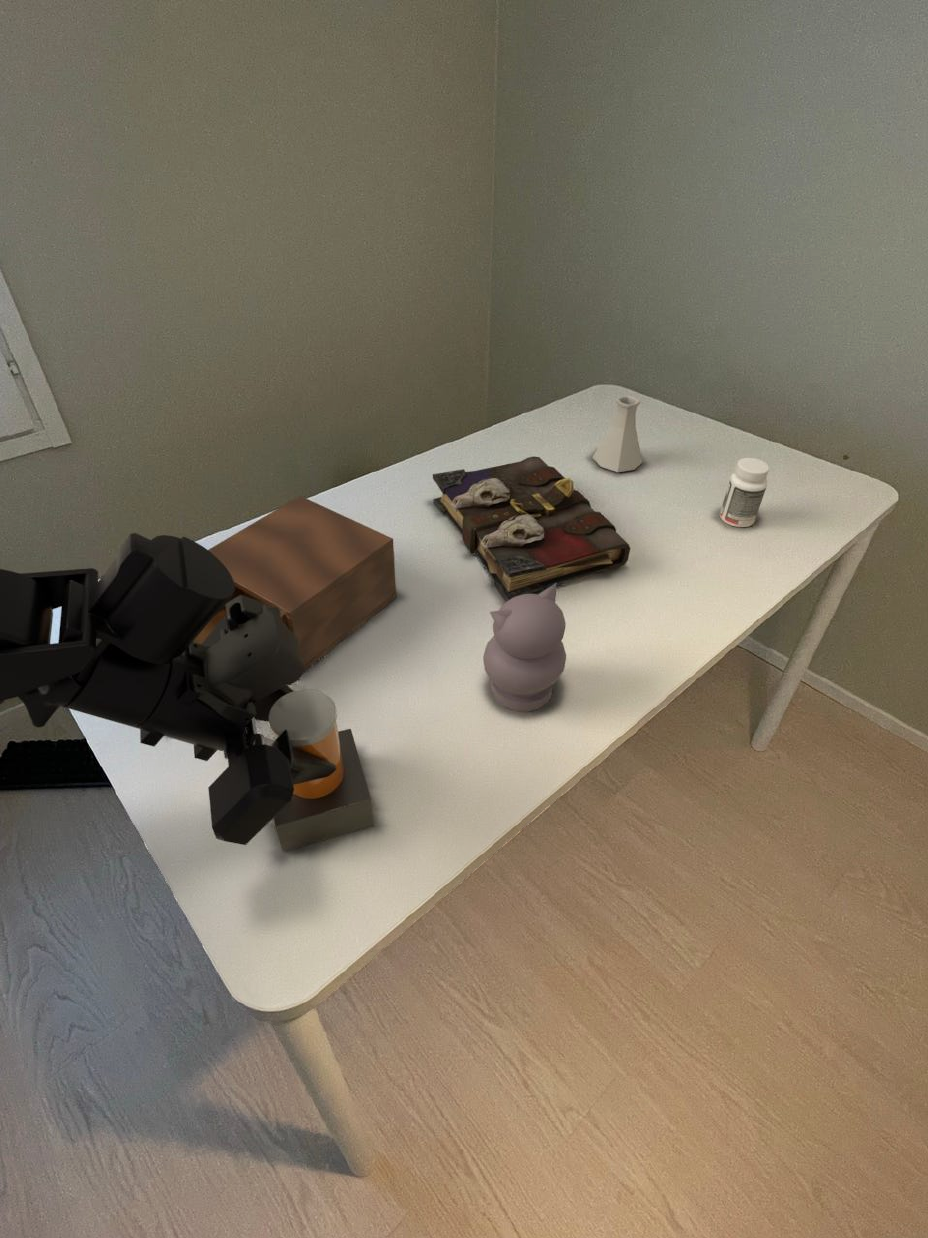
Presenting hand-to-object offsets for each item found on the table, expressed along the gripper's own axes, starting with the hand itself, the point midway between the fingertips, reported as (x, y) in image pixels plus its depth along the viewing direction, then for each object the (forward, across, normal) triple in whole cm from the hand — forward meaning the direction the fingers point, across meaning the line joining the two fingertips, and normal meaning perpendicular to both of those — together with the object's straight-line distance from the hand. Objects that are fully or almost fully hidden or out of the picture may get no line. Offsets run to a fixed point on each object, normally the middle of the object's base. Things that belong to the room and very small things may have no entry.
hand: (326, 746), depth 59 cm
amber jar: (+1, 0, +3) cm, 4 cm away
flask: (+43, +46, -32) cm, 71 cm away
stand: (+4, 0, +6) cm, 7 cm away
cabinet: (+6, +27, +4) cm, 28 cm away
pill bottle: (+49, +27, -38) cm, 68 cm away
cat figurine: (+20, +7, -10) cm, 23 cm away
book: (+28, +32, -17) cm, 46 cm away
